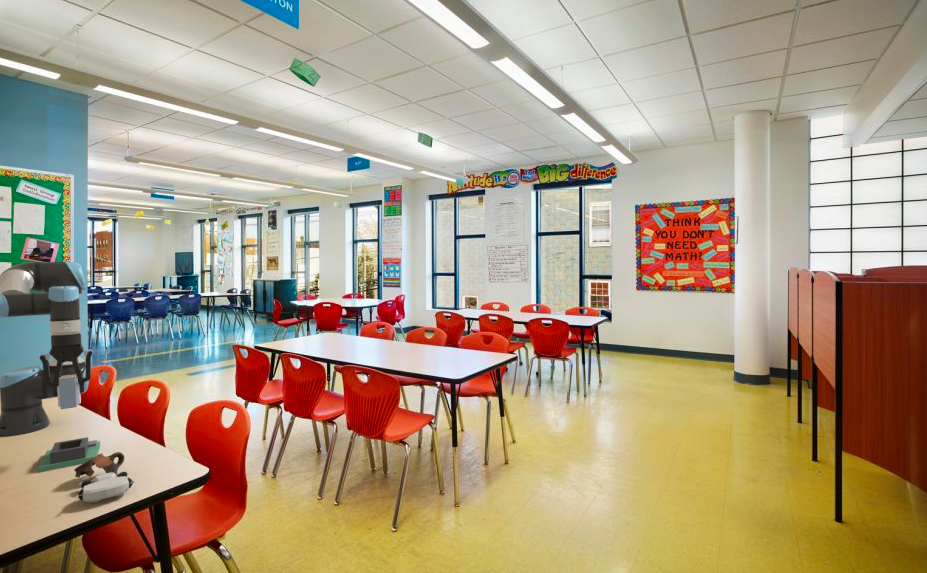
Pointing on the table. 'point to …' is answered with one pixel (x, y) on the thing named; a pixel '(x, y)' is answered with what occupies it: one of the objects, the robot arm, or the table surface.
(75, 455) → the circuit board
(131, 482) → the robot toy
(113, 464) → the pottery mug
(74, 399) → the plug
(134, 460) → the table surface
